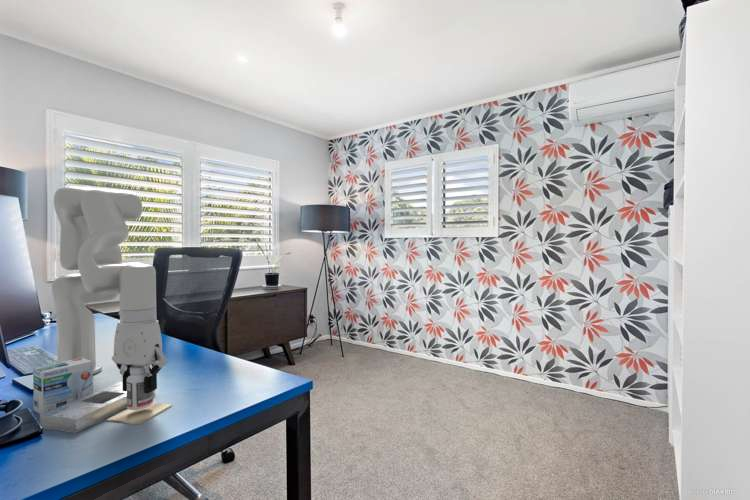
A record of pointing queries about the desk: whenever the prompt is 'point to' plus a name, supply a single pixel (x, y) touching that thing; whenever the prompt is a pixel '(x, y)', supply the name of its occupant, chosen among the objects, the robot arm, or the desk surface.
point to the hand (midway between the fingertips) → (140, 389)
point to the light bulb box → (61, 383)
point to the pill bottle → (137, 389)
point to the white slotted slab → (86, 410)
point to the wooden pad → (139, 414)
